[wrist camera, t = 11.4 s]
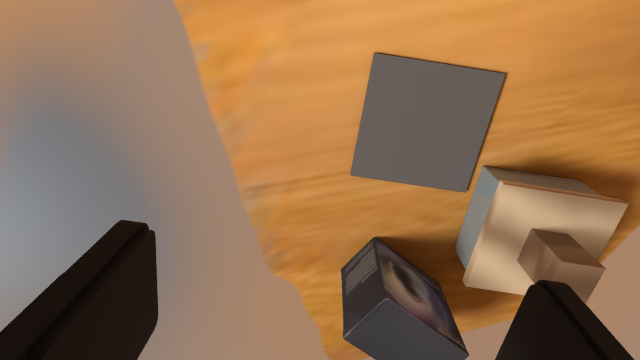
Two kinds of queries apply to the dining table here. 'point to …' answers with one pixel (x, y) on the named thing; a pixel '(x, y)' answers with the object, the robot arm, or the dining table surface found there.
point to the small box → (396, 309)
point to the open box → (486, 194)
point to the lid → (542, 239)
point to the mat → (424, 122)
